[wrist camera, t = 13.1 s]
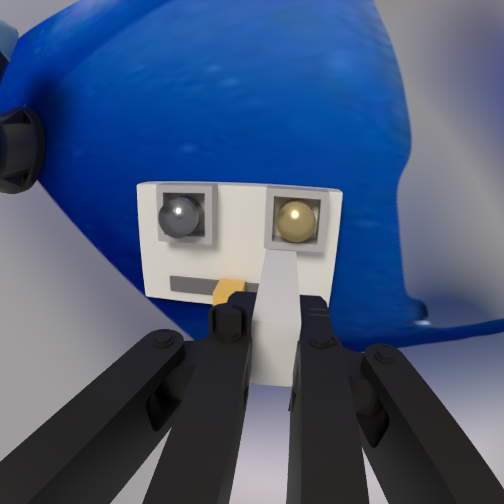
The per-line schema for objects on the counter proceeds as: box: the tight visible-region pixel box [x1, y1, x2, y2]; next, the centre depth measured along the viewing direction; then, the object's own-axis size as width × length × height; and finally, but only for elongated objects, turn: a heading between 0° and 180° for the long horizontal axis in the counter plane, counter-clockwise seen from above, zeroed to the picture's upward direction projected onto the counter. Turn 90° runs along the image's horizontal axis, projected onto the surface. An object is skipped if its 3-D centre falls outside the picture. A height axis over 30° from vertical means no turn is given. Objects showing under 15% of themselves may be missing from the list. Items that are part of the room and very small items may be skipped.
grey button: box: [158, 195, 203, 238], centre depth 31 cm, size 4×4×3 cm
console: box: [137, 182, 343, 306], centre depth 35 cm, size 24×15×6 cm, turn 88°
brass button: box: [276, 199, 316, 242], centre depth 31 cm, size 4×4×3 cm
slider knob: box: [213, 278, 246, 306], centre depth 34 cm, size 3×3×4 cm
